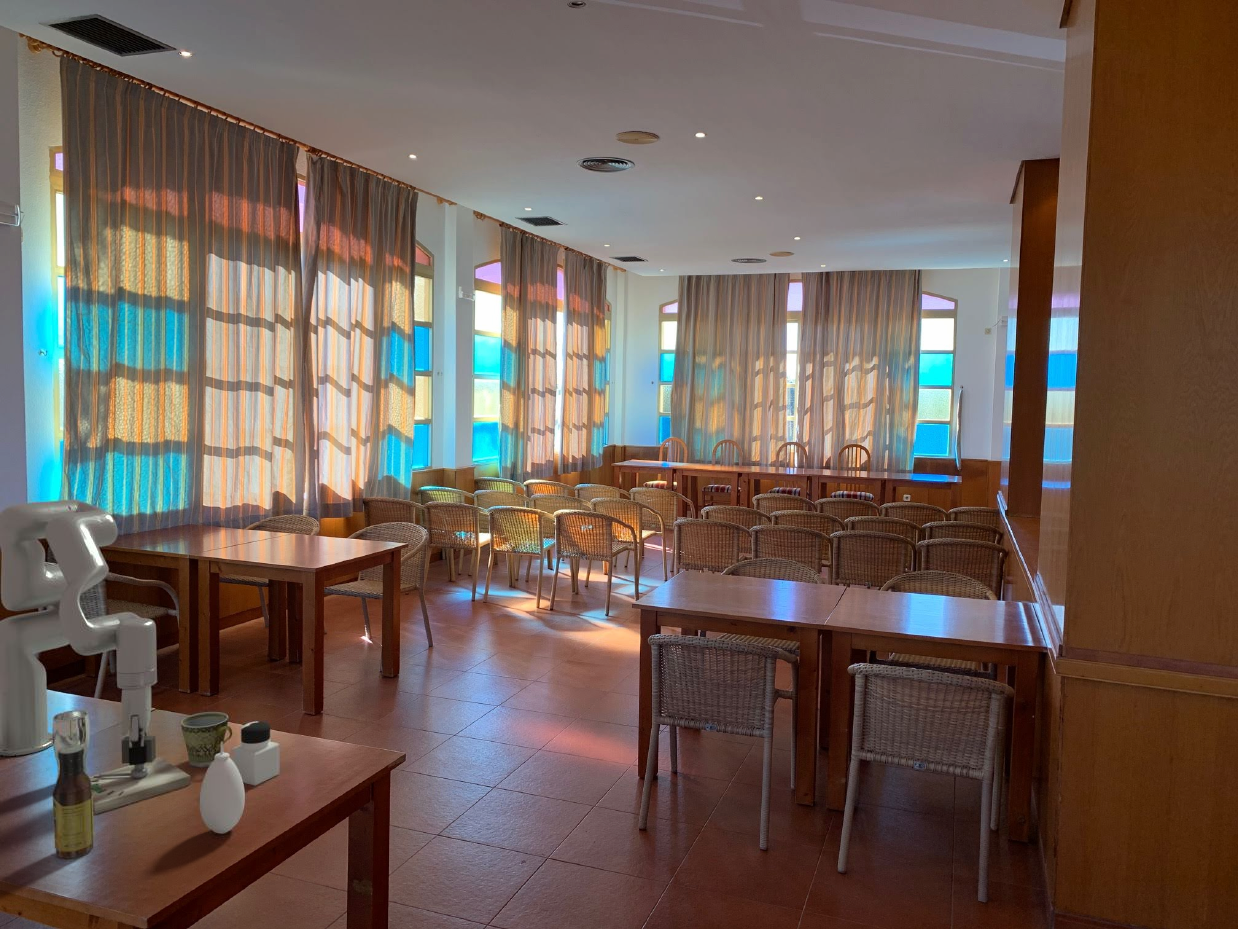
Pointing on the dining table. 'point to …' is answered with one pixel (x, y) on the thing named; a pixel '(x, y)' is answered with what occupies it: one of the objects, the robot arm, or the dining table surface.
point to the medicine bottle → (256, 754)
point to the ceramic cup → (204, 736)
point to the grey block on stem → (139, 769)
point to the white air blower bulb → (222, 794)
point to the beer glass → (71, 732)
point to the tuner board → (135, 785)
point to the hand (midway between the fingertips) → (138, 760)
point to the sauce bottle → (73, 805)
